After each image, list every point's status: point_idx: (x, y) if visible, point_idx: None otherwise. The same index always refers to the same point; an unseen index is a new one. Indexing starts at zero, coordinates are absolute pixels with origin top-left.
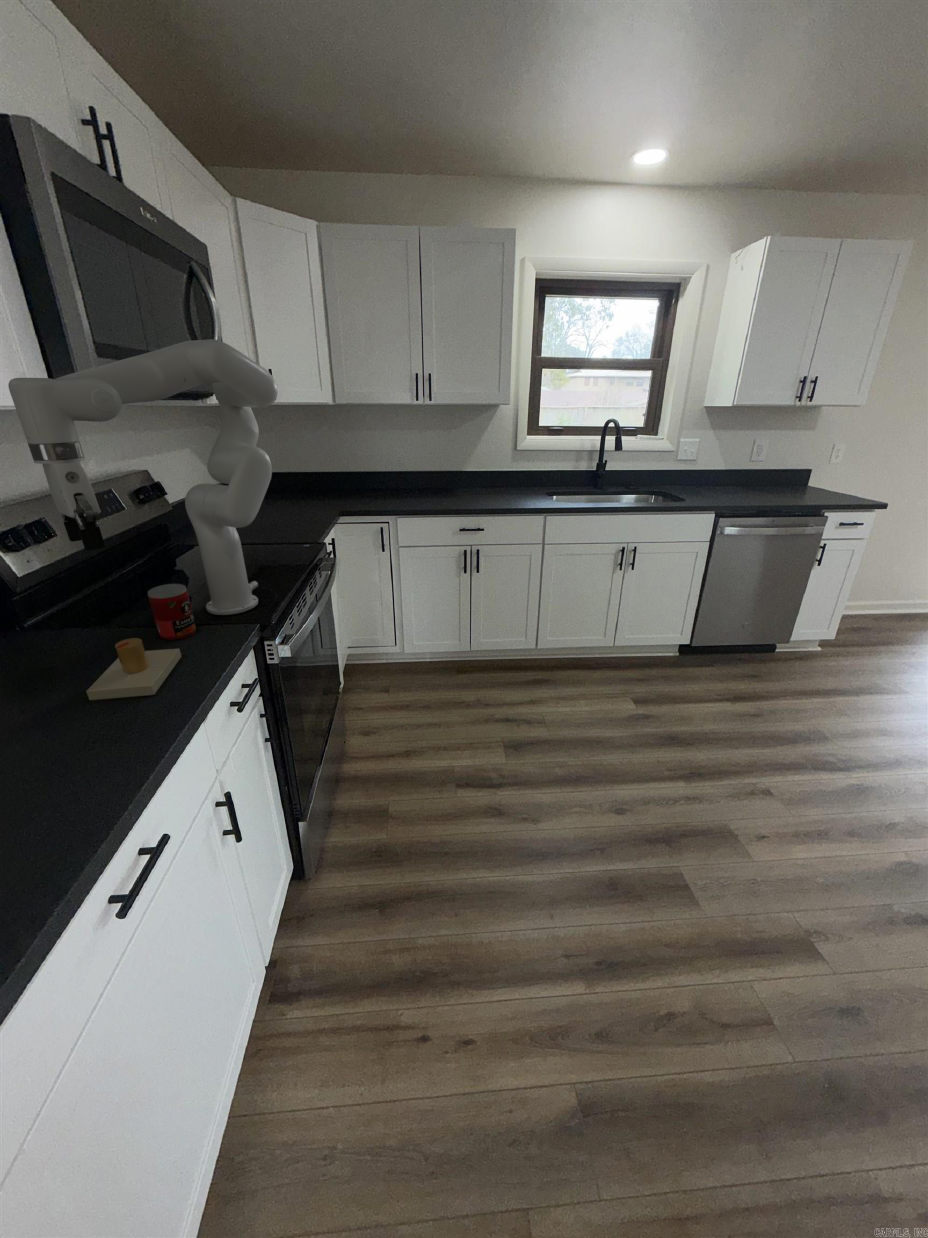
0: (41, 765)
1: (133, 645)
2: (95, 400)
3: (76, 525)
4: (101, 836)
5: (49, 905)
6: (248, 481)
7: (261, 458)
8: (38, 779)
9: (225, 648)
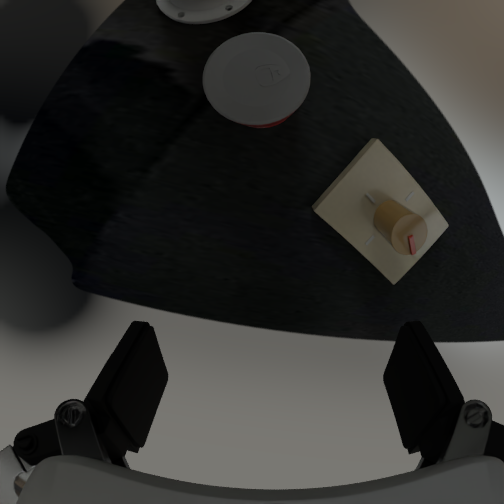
0: (448, 326)
1: (424, 232)
2: None
3: (135, 408)
4: None
5: None
6: None
7: None
8: (459, 329)
9: (395, 78)
